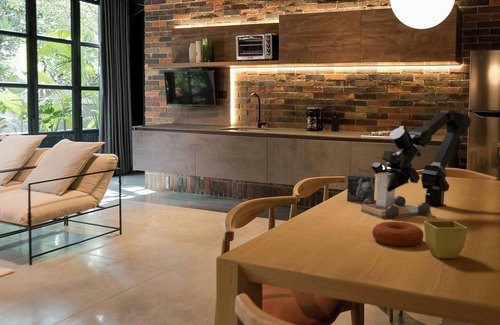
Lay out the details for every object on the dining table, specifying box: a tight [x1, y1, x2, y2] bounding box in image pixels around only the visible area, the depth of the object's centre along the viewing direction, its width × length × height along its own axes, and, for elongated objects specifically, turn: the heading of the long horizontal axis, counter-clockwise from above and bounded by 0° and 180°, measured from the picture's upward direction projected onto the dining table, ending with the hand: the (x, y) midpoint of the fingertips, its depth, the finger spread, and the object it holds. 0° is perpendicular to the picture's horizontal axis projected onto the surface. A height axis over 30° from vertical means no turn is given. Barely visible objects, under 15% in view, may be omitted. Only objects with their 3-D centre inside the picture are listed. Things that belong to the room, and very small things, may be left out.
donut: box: [371, 221, 425, 248], centre depth 170 cm, size 15×15×5 cm
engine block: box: [375, 172, 396, 209], centre depth 206 cm, size 4×4×12 cm
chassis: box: [360, 195, 432, 220], centre depth 209 cm, size 22×15×4 cm
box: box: [346, 173, 377, 203], centre depth 230 cm, size 11×7×10 cm, turn 75°
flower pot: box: [423, 220, 468, 259], centre depth 155 cm, size 9×9×9 cm
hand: (383, 189), depth 205 cm, fingers closed on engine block, 4 cm apart
